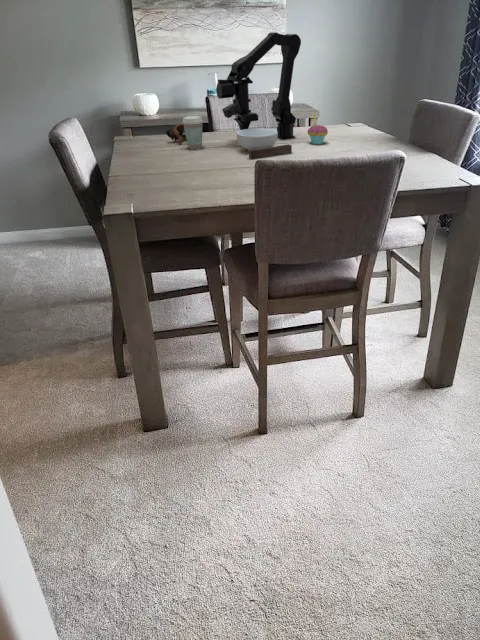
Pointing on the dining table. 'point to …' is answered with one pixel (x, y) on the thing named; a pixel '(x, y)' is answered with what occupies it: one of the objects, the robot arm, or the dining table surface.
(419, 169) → the dining table surface
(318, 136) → the cupcake
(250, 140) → the cereal bowl
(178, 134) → the brown irregular piece
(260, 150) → the rail
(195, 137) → the coffee cup
